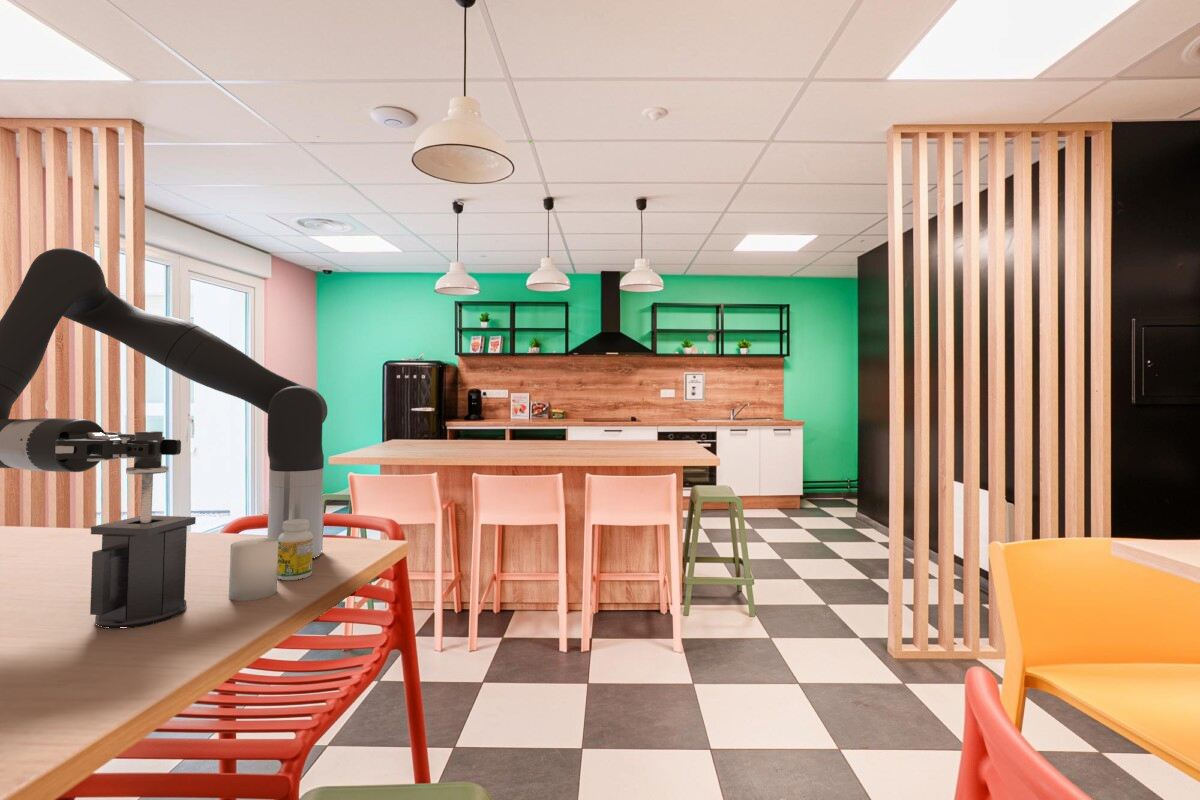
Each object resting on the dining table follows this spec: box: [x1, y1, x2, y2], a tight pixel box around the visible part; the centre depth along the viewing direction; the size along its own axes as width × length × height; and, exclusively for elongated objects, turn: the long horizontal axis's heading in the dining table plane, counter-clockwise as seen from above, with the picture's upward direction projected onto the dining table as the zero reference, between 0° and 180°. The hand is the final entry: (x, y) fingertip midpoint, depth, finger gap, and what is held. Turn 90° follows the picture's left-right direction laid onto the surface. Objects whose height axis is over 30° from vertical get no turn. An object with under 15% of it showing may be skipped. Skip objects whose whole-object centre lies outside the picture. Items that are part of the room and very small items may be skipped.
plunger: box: [125, 430, 170, 524], centre depth 77 cm, size 5×5×21 cm
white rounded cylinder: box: [228, 537, 278, 602], centre depth 86 cm, size 6×6×8 cm
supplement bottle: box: [277, 519, 313, 581], centre depth 95 cm, size 5×5×10 cm
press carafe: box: [89, 515, 197, 628], centre depth 76 cm, size 12×10×13 cm
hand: (168, 448), depth 77 cm, fingers closed on plunger, 3 cm apart
